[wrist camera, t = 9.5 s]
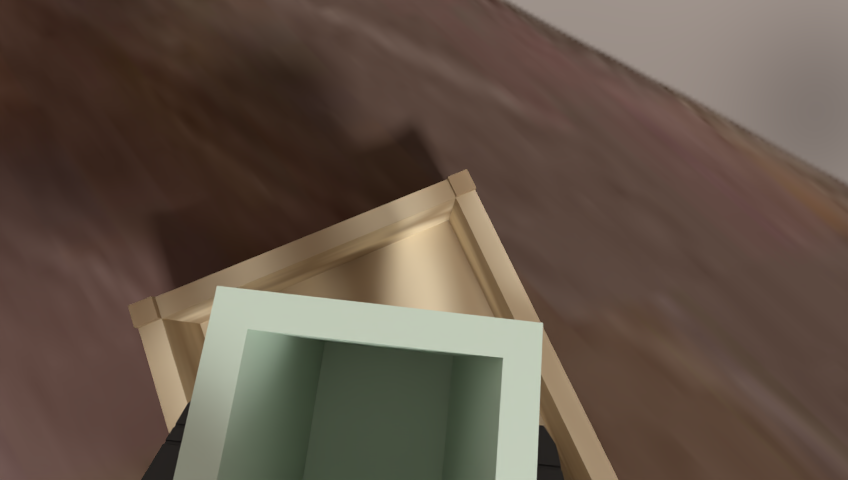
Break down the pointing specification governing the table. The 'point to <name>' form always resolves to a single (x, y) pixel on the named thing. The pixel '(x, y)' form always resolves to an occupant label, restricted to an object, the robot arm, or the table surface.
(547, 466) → the robot arm
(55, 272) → the table surface
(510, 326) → the box
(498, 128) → the table surface
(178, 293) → the wooden tray
